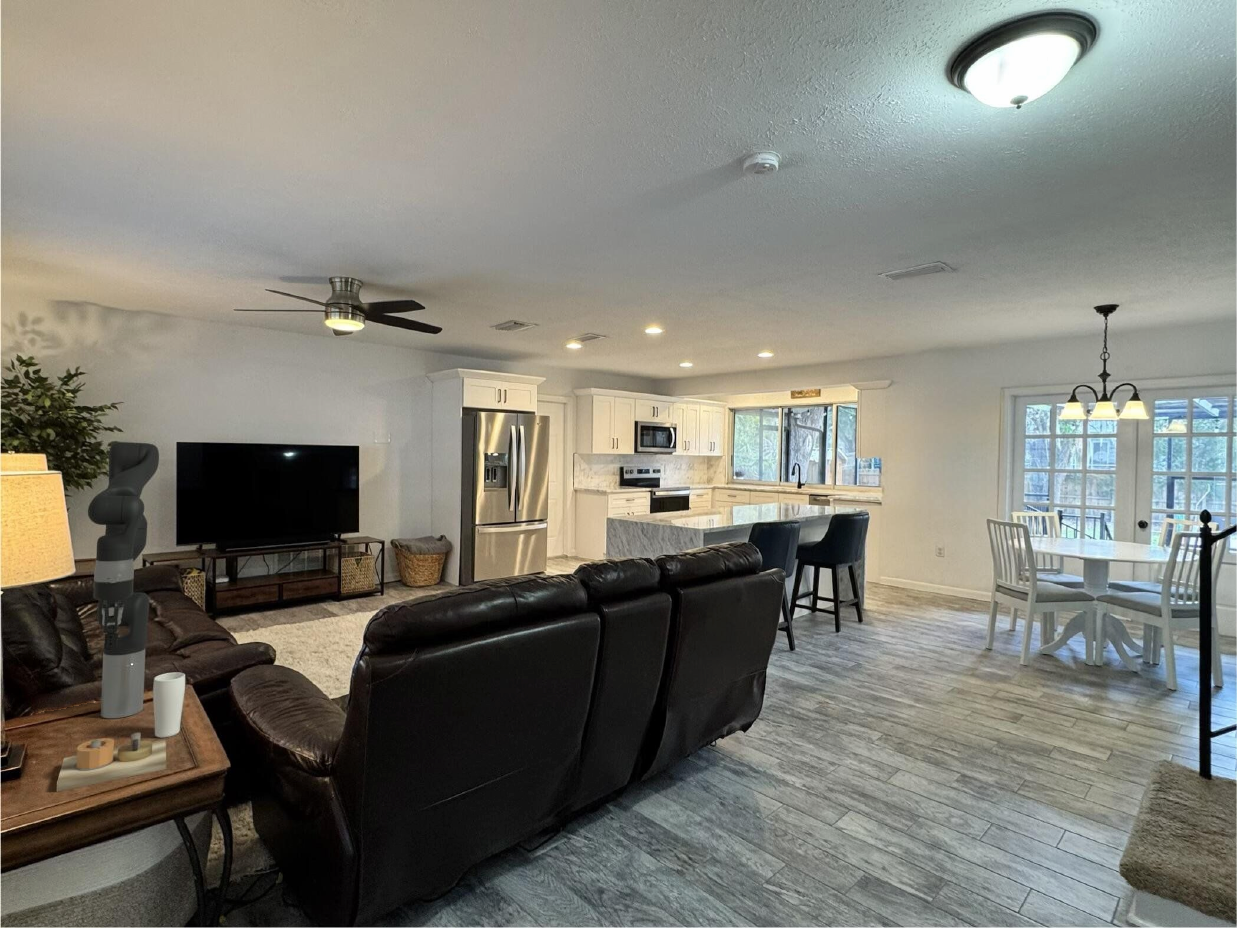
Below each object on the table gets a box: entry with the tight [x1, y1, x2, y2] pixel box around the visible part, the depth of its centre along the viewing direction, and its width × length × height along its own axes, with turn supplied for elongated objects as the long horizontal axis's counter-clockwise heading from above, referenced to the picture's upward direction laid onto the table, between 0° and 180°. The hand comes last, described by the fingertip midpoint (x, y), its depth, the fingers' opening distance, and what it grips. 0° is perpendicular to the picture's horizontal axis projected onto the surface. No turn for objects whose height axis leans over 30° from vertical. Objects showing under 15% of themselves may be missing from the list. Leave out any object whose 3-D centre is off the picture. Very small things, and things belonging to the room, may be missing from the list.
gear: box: [76, 737, 115, 769], centre depth 143 cm, size 6×6×4 cm
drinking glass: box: [152, 671, 186, 739], centre depth 163 cm, size 7×7×15 cm
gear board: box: [56, 732, 167, 792], centre depth 145 cm, size 13×19×7 cm
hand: (111, 644), depth 153 cm, fingers open, 8 cm apart
